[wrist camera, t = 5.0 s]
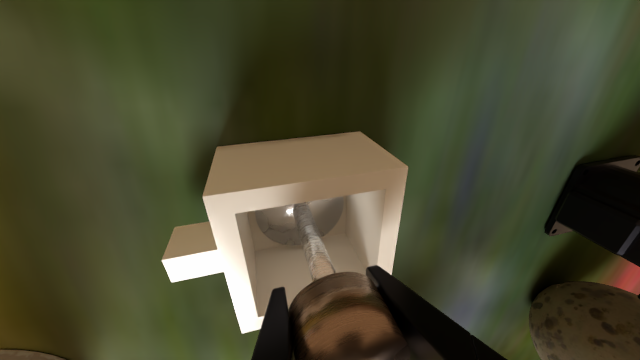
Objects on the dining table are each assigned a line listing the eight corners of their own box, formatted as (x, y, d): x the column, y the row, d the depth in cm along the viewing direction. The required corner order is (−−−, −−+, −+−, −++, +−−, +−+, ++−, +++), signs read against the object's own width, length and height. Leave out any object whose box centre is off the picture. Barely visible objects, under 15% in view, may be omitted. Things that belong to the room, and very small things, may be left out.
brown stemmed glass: (340, 159, 13) (454, 293, 6) (339, 230, 15) (422, 390, 8) (248, 171, 12) (251, 349, 5) (261, 245, 14) (277, 442, 7)
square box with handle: (359, 131, 13) (408, 166, 9) (354, 236, 16) (388, 295, 12) (164, 152, 11) (120, 208, 7) (203, 267, 14) (187, 348, 10)
